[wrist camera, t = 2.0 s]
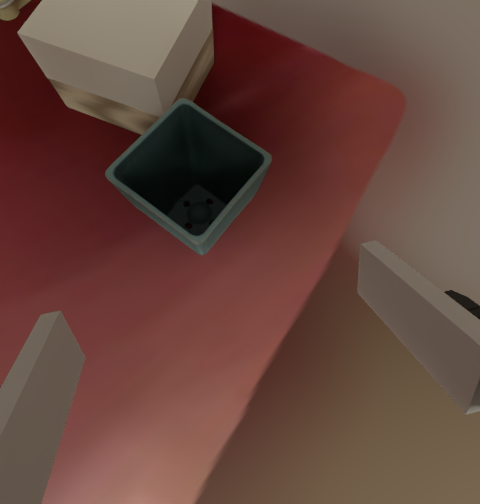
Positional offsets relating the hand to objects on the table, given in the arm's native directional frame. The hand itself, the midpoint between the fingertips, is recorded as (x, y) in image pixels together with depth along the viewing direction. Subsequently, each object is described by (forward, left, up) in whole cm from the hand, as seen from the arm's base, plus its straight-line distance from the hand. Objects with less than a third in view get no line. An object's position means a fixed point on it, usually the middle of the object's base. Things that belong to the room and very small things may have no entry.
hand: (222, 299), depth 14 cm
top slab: (-18, +21, -11) cm, 30 cm away
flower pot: (-6, +9, -15) cm, 19 cm away
